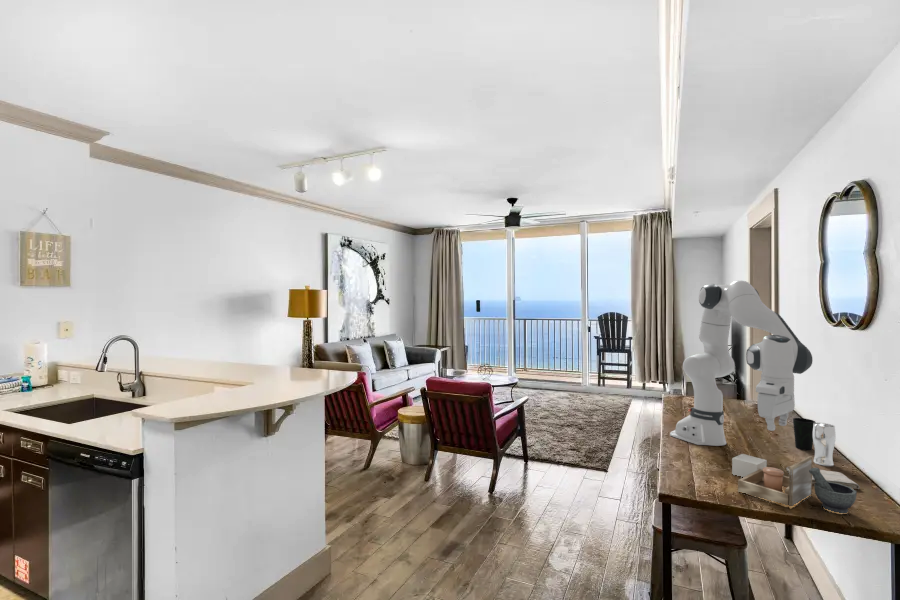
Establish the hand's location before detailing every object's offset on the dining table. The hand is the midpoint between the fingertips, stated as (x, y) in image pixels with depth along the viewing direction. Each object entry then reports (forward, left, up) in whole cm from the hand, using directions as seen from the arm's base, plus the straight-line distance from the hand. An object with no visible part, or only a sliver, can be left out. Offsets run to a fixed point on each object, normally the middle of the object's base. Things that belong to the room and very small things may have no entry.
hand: (777, 427), depth 151 cm
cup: (-12, +62, -22) cm, 67 cm away
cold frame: (-1, -1, -22) cm, 22 cm away
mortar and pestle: (+14, +1, -22) cm, 26 cm away
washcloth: (+4, +26, -22) cm, 34 cm away
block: (-12, +9, -22) cm, 26 cm away
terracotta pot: (-1, -1, -21) cm, 21 cm away
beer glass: (-1, +47, -22) cm, 52 cm away
